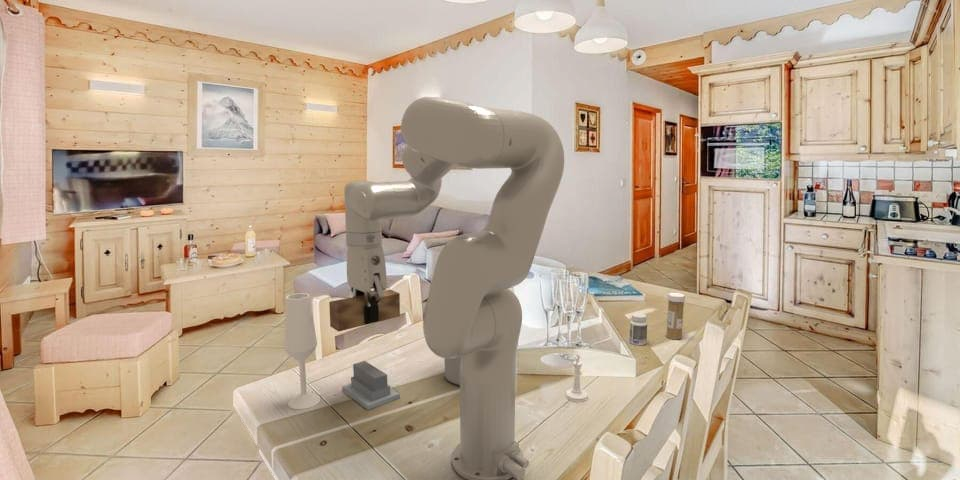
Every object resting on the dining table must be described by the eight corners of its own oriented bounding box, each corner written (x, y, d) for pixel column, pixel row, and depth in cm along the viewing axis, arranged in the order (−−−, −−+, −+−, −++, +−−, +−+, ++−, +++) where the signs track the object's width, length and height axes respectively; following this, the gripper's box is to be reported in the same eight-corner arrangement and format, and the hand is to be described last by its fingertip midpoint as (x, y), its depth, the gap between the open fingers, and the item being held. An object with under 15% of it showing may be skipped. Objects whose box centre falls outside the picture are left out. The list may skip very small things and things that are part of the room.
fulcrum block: (399, 397, 107) (399, 372, 106) (367, 410, 102) (366, 383, 101) (373, 380, 116) (372, 356, 115) (342, 390, 111) (341, 365, 110)
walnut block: (390, 312, 113) (390, 289, 112) (399, 316, 110) (399, 293, 109) (330, 326, 103) (329, 301, 102) (338, 331, 100) (337, 306, 99)
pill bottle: (649, 343, 139) (651, 315, 138) (638, 346, 137) (640, 318, 135) (636, 338, 143) (638, 311, 142) (625, 341, 141) (627, 314, 139)
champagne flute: (325, 394, 109) (319, 292, 105) (312, 409, 102) (305, 301, 98) (297, 393, 109) (290, 291, 105) (282, 408, 103) (274, 300, 99)
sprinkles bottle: (683, 340, 142) (686, 296, 139) (667, 339, 142) (670, 295, 140) (679, 335, 146) (682, 292, 144) (664, 334, 147) (666, 291, 145)
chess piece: (590, 395, 108) (592, 353, 107) (582, 404, 104) (584, 360, 103) (570, 389, 111) (571, 348, 109) (561, 398, 107) (563, 355, 105)
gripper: (400, 242, 100) (401, 326, 103) (361, 232, 112) (363, 307, 115) (367, 246, 95) (370, 334, 98) (330, 235, 107) (333, 314, 110)
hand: (366, 319), depth 106 cm, fingers closed on walnut block, 4 cm apart
